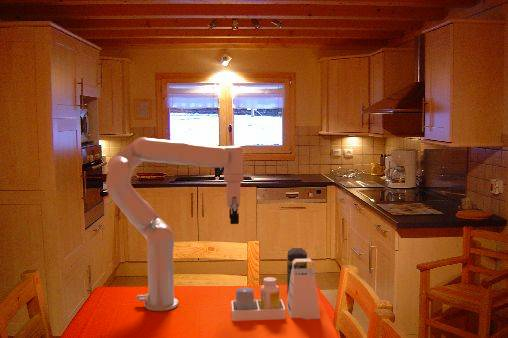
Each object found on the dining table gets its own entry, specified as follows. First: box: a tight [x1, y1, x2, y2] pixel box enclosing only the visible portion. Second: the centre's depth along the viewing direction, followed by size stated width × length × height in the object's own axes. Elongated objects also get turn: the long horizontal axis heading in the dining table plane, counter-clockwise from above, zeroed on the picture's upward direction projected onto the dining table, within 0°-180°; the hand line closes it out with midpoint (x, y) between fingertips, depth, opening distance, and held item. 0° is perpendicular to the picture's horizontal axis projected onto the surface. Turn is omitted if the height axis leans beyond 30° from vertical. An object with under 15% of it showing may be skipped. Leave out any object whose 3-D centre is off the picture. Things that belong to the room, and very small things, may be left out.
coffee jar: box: [286, 247, 308, 294], centre depth 208 cm, size 10×8×19 cm
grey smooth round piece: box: [235, 286, 255, 310], centre depth 187 cm, size 6×6×9 cm
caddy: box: [230, 298, 286, 322], centre depth 188 cm, size 19×10×4 cm, turn 95°
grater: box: [285, 258, 321, 320], centre depth 190 cm, size 10×10×20 cm
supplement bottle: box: [260, 276, 280, 310], centre depth 188 cm, size 7×7×13 cm
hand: (234, 221), depth 205 cm, fingers open, 9 cm apart
